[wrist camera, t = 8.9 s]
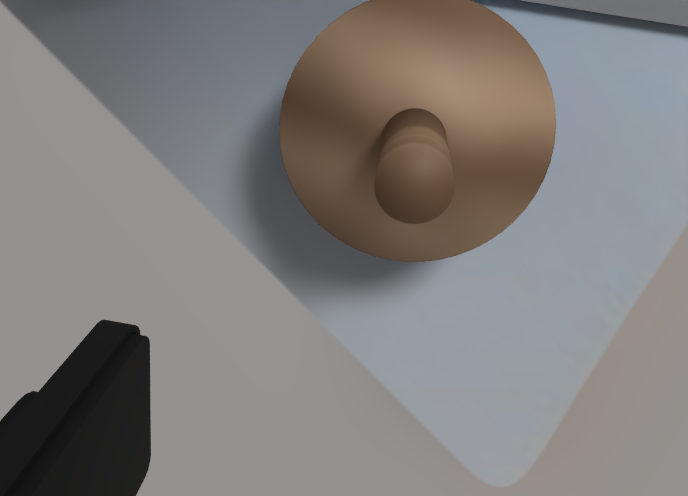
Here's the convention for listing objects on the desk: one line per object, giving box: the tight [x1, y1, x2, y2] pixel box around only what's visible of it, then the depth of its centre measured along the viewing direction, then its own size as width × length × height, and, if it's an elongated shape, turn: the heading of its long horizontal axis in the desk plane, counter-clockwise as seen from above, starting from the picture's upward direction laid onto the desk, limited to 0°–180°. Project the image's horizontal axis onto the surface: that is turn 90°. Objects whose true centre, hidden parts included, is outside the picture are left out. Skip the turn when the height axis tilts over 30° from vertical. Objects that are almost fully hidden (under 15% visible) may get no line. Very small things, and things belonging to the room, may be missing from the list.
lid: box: [279, 0, 556, 262], centre depth 24 cm, size 12×12×7 cm
